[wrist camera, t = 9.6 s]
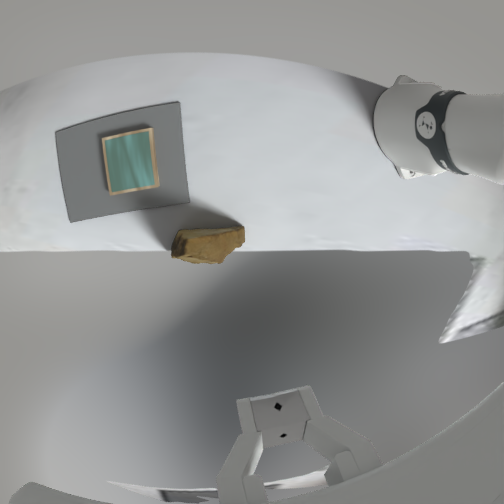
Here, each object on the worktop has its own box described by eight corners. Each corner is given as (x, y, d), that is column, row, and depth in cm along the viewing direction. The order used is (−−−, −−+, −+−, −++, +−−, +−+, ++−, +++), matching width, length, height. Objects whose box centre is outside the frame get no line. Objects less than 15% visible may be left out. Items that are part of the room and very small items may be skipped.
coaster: (151, 127, 30) (101, 138, 29) (158, 187, 33) (109, 195, 32) (153, 127, 31) (105, 138, 30) (159, 185, 35) (113, 193, 34)
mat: (180, 102, 31) (179, 102, 30) (189, 201, 37) (189, 202, 36) (56, 132, 28) (55, 132, 28) (71, 221, 34) (70, 222, 34)
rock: (262, 215, 37) (193, 191, 33) (263, 272, 33) (184, 251, 29) (227, 249, 45) (170, 232, 41) (225, 297, 41) (161, 284, 37)
